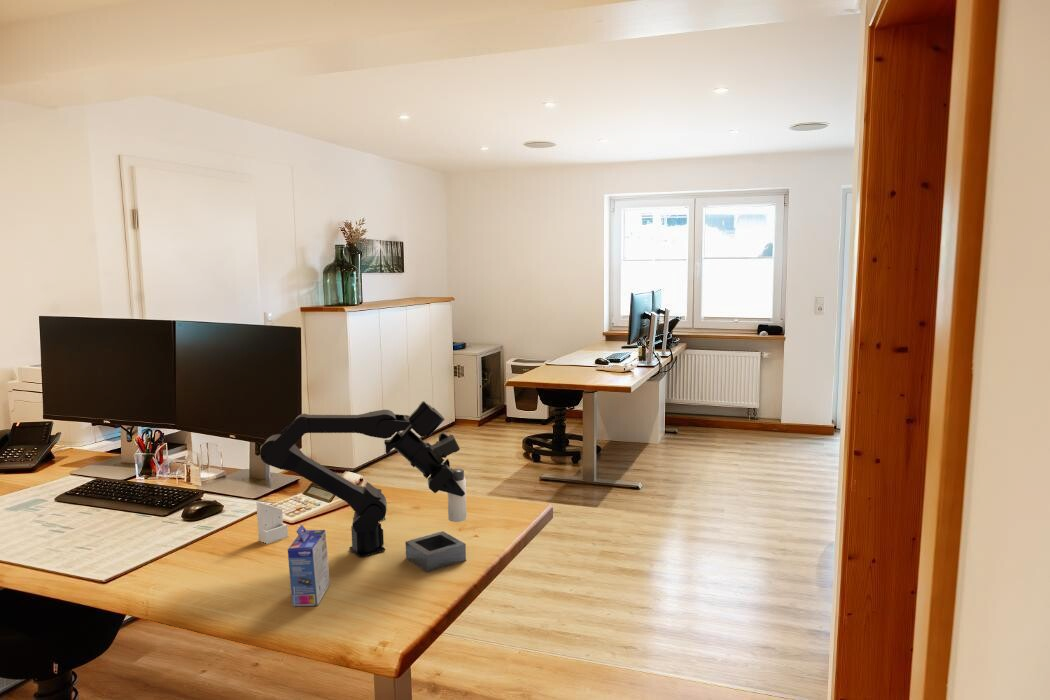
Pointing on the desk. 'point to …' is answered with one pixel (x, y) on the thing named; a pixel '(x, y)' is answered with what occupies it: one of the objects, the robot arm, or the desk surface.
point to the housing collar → (435, 551)
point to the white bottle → (457, 499)
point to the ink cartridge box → (308, 567)
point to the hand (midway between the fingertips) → (462, 491)
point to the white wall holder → (270, 523)
